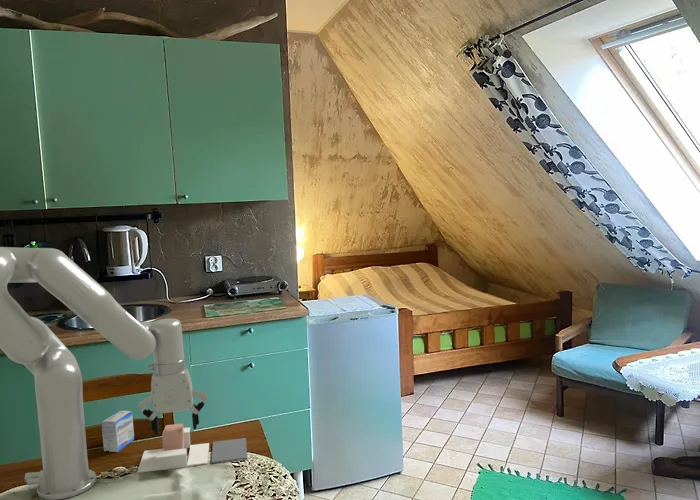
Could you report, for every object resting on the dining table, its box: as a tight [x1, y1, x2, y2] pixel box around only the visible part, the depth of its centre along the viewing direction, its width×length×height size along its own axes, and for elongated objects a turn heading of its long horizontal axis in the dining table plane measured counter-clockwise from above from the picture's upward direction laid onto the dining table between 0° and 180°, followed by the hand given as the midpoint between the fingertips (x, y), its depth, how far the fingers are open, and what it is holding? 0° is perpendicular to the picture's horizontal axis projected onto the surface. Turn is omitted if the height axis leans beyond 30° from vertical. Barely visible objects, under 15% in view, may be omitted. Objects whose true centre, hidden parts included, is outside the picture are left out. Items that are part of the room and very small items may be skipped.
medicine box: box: [101, 410, 135, 453], centre depth 153 cm, size 8×4×9 cm, turn 168°
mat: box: [211, 437, 248, 465], centre depth 148 cm, size 9×12×1 cm
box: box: [162, 423, 185, 451], centre depth 144 cm, size 4×6×8 cm
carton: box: [137, 426, 210, 474], centre depth 145 cm, size 17×16×4 cm
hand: (176, 429), depth 144 cm, fingers open, 9 cm apart
